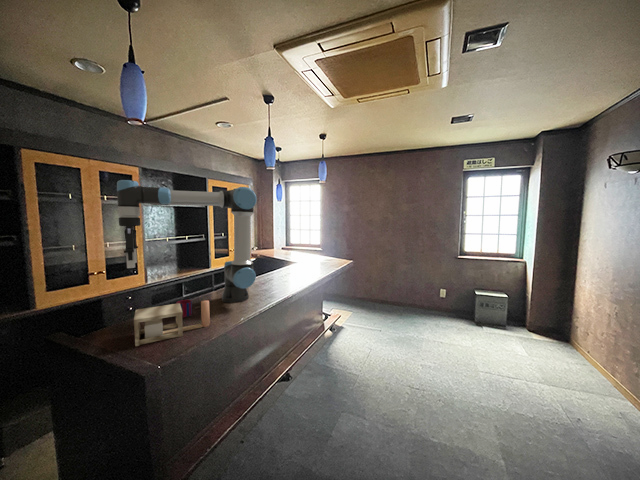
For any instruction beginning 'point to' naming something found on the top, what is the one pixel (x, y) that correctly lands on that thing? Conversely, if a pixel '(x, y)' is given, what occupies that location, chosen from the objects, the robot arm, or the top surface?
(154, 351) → the top surface
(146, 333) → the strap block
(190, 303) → the mug
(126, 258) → the robot arm
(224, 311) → the top surface
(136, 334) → the wooden holder
